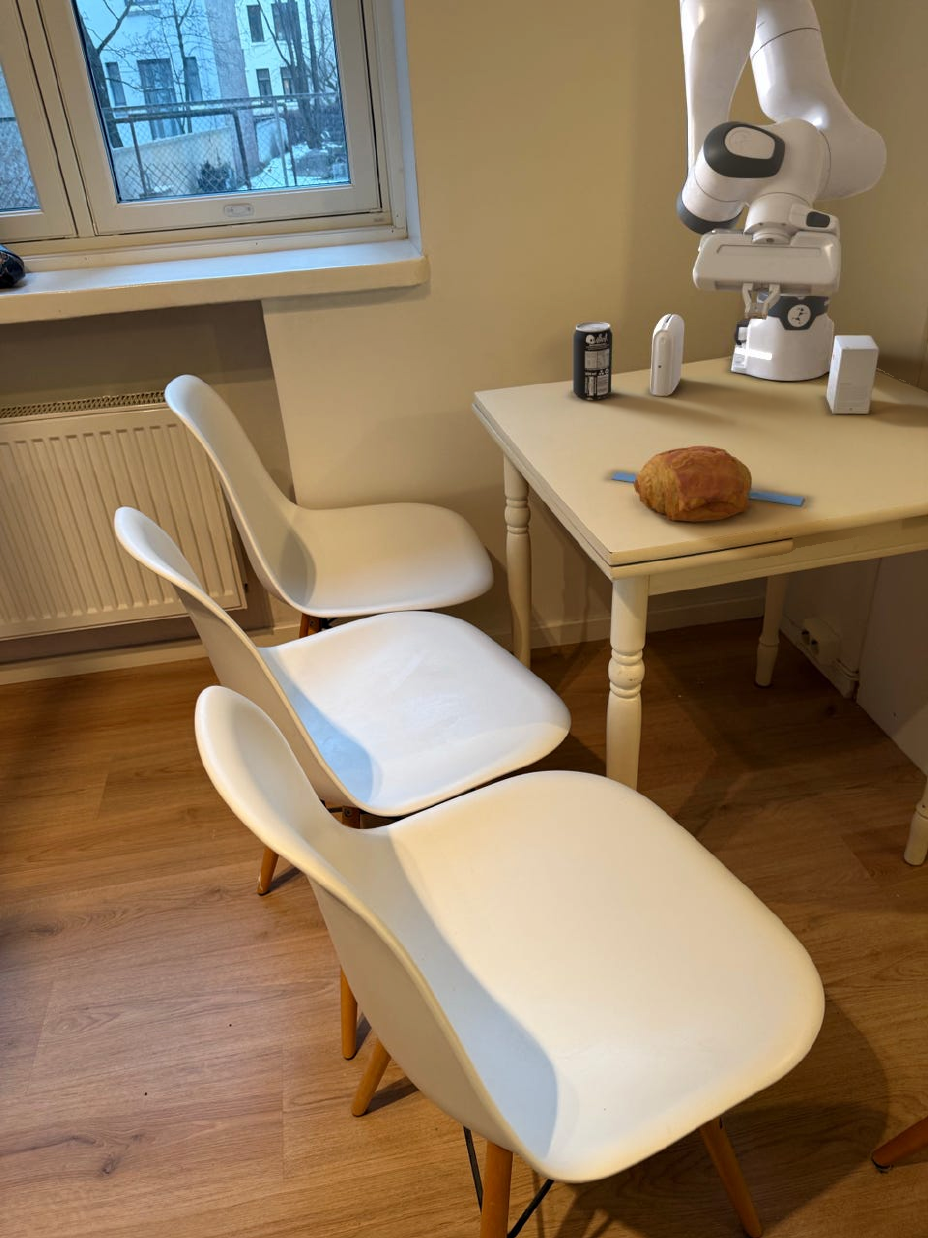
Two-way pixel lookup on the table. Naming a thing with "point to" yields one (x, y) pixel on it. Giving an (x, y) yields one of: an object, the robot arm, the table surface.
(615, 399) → the table surface
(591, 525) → the table surface
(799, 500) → the tape line
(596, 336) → the beverage can
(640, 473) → the croissant
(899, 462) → the table surface
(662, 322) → the photo printer
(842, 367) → the small box
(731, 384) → the table surface
